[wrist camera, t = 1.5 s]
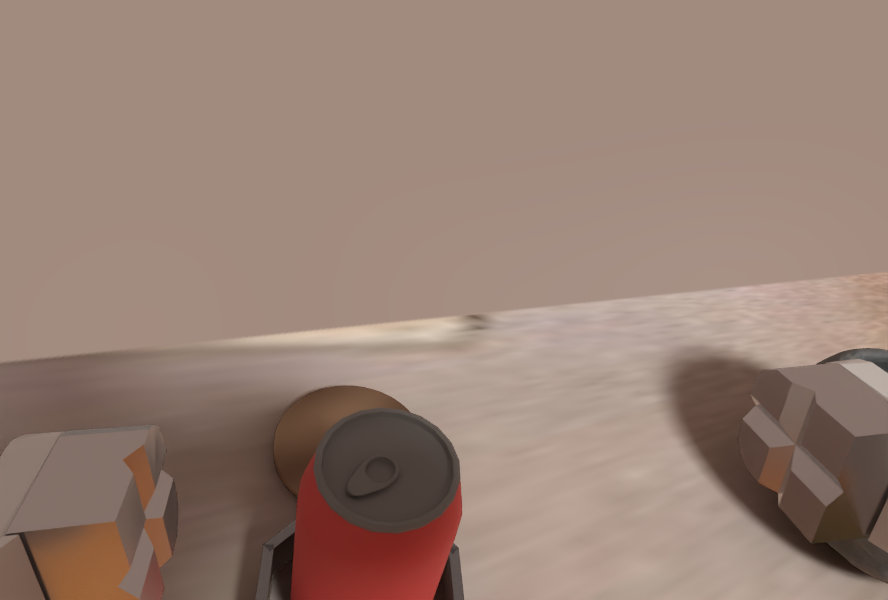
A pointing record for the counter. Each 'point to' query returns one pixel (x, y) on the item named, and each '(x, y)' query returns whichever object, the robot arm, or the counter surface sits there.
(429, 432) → the beer can
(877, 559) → the bowl
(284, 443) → the walnut coaster
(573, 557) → the counter surface
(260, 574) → the can collar
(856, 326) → the counter surface
